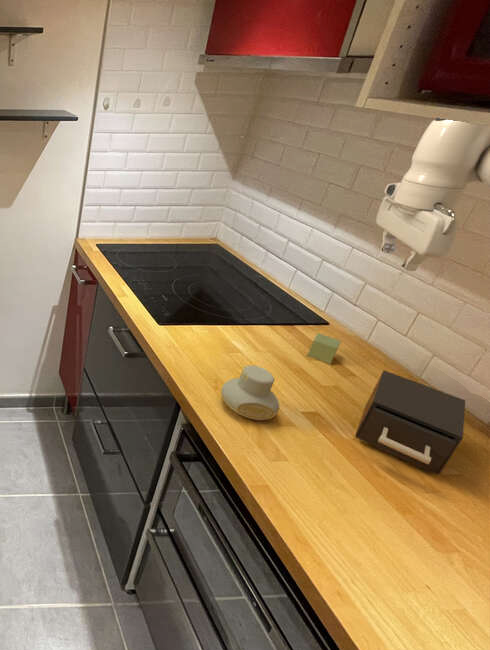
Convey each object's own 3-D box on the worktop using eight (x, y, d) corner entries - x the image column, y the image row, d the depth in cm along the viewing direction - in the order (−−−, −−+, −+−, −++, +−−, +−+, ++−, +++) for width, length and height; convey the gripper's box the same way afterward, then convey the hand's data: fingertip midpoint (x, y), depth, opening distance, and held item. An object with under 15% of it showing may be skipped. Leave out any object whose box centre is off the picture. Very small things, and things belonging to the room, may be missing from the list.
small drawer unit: (438, 474, 85) (463, 437, 81) (354, 436, 93) (373, 400, 89) (443, 435, 94) (465, 400, 90) (366, 403, 102) (383, 370, 99)
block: (334, 356, 119) (341, 341, 117) (330, 364, 116) (337, 348, 113) (311, 348, 122) (318, 332, 120) (307, 355, 119) (313, 339, 117)
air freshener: (223, 416, 98) (236, 380, 94) (214, 391, 105) (225, 357, 101) (279, 427, 95) (295, 390, 91) (266, 401, 103) (280, 366, 98)
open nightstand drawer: (434, 489, 81) (454, 459, 78) (354, 451, 89) (370, 422, 85) (440, 437, 92) (458, 408, 89) (369, 407, 100) (383, 380, 97)
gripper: (481, 214, 78) (444, 284, 84) (419, 186, 95) (392, 245, 101) (435, 210, 80) (402, 278, 86) (382, 183, 97) (358, 241, 103)
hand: (396, 260), depth 94 cm, fingers open, 8 cm apart
